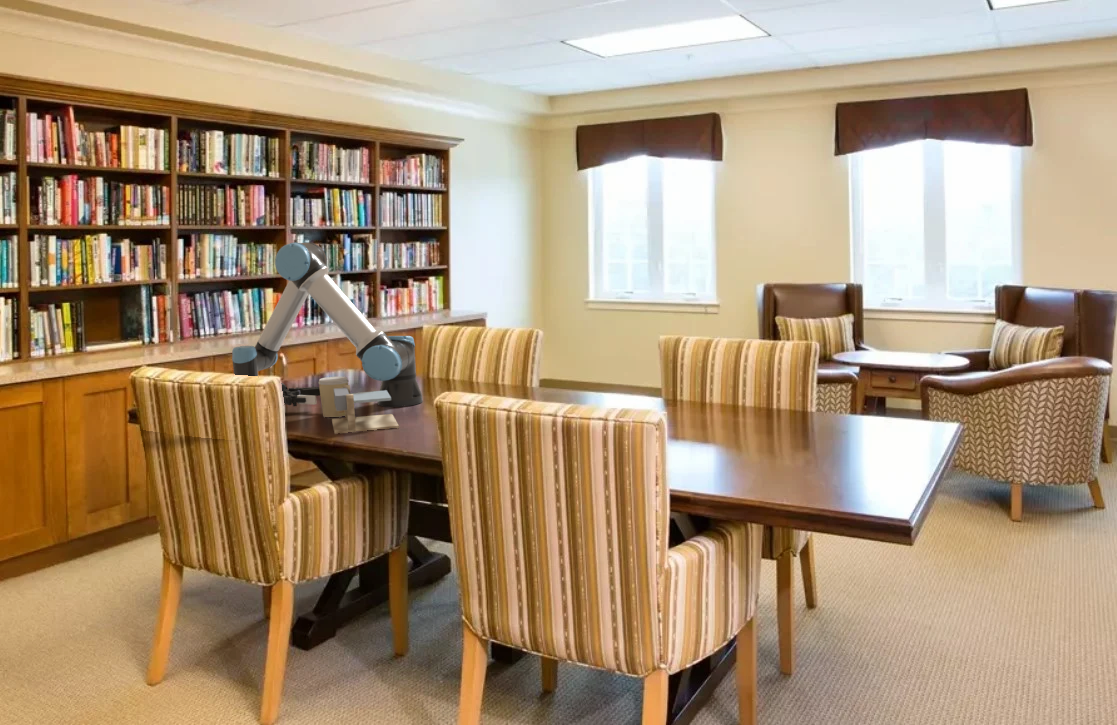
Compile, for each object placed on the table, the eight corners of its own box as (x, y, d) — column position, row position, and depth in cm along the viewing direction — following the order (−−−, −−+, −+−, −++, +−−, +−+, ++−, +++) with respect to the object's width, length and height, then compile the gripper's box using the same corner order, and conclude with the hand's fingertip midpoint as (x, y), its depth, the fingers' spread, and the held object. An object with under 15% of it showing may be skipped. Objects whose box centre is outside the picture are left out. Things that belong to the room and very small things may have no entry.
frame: (392, 416, 288) (390, 382, 287) (398, 428, 270) (396, 391, 269) (332, 421, 283) (329, 386, 282) (334, 433, 265) (332, 396, 264)
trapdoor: (387, 398, 284) (386, 384, 284) (391, 406, 271) (390, 391, 271) (334, 402, 280) (333, 388, 280) (336, 410, 267) (335, 396, 266)
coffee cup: (343, 418, 287) (340, 381, 285) (315, 418, 289) (312, 381, 287) (355, 412, 296) (353, 376, 295) (328, 412, 298) (326, 376, 296)
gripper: (295, 398, 311) (349, 400, 304) (248, 413, 288) (306, 415, 281) (293, 377, 310) (348, 378, 303) (246, 389, 287) (304, 391, 280)
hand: (328, 396), depth 292 cm, fingers open, 13 cm apart
